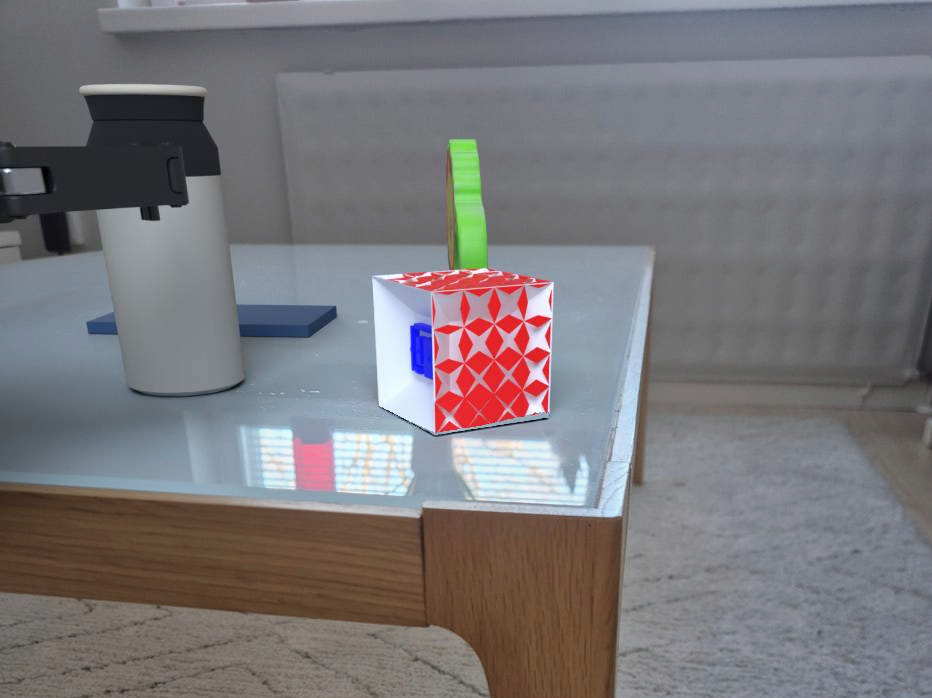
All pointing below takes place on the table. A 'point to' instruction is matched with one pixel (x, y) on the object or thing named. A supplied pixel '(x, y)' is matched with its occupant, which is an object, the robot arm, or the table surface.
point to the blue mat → (256, 320)
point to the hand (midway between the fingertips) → (57, 172)
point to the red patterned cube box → (463, 346)
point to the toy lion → (464, 207)
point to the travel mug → (169, 249)
